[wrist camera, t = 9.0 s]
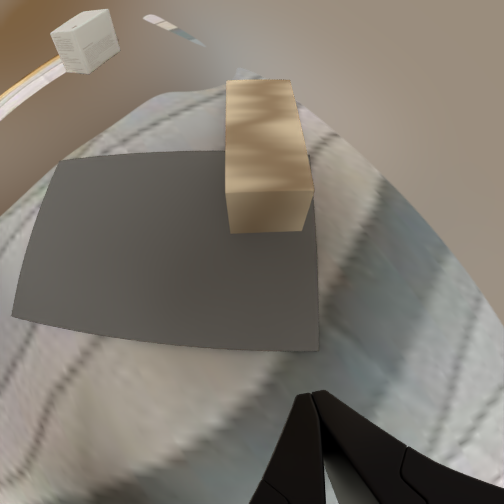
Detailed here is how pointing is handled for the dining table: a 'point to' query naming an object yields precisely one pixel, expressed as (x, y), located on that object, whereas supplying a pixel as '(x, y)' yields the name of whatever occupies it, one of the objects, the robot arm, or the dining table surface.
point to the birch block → (265, 158)
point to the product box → (86, 41)
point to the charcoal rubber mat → (165, 259)
